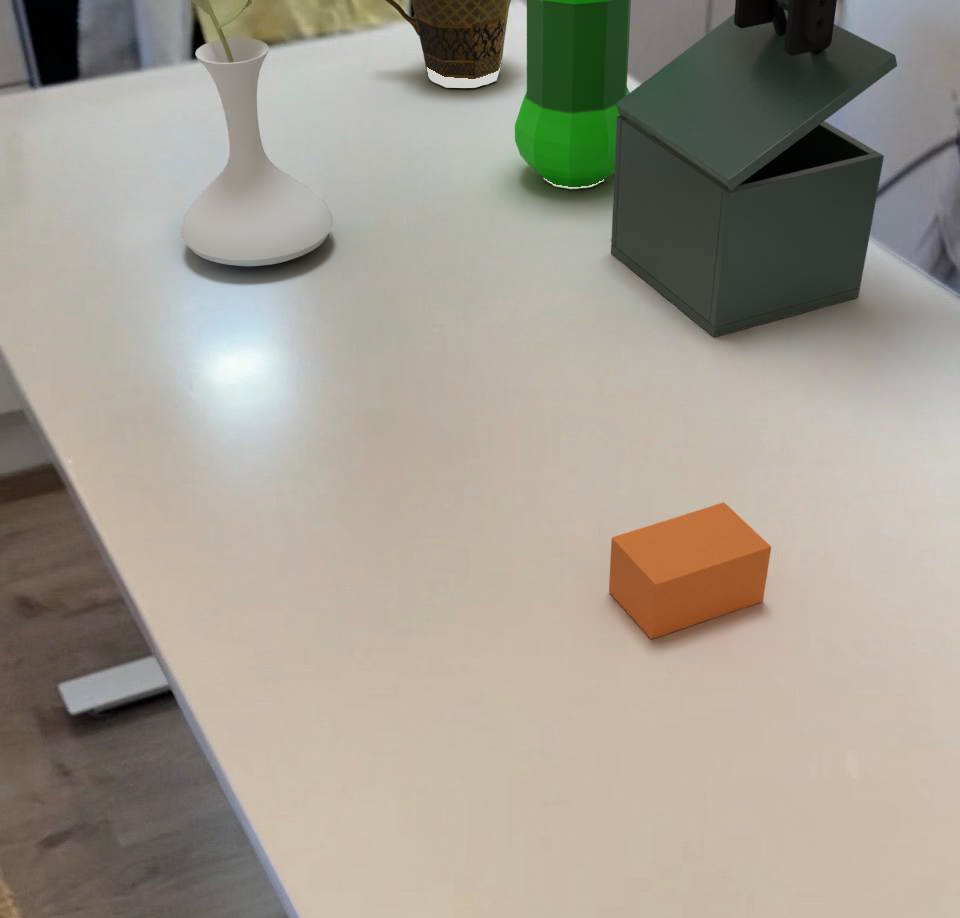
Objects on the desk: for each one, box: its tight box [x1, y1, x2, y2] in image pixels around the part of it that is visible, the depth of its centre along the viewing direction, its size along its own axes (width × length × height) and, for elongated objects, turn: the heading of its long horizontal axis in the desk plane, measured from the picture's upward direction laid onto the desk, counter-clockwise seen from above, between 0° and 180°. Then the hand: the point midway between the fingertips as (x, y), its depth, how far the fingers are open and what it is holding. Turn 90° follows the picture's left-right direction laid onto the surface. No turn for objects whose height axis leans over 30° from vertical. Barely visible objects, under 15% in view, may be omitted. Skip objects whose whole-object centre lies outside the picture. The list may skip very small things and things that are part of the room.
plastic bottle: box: [514, 0, 632, 187], centre depth 104 cm, size 10×10×25 cm
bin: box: [610, 115, 885, 338], centre depth 97 cm, size 12×14×10 cm
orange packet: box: [608, 502, 772, 640], centre depth 74 cm, size 7×5×4 cm, turn 116°
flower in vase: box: [180, 0, 334, 267], centre depth 97 cm, size 13×11×25 cm
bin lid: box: [615, 0, 898, 190], centre depth 90 cm, size 13×14×5 cm
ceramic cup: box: [384, 0, 512, 79], centre depth 125 cm, size 13×10×10 cm
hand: (781, 33), depth 90 cm, fingers closed on bin lid, 5 cm apart
